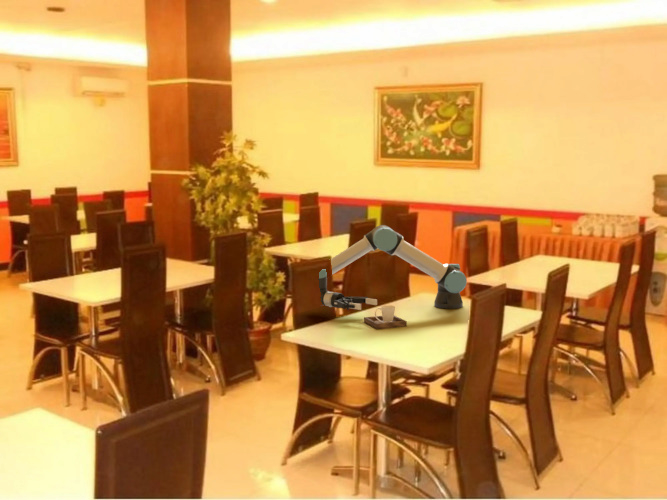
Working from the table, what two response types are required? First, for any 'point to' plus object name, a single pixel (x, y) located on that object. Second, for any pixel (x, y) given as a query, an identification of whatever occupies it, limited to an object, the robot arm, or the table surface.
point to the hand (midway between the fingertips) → (368, 304)
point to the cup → (387, 313)
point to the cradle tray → (379, 325)
